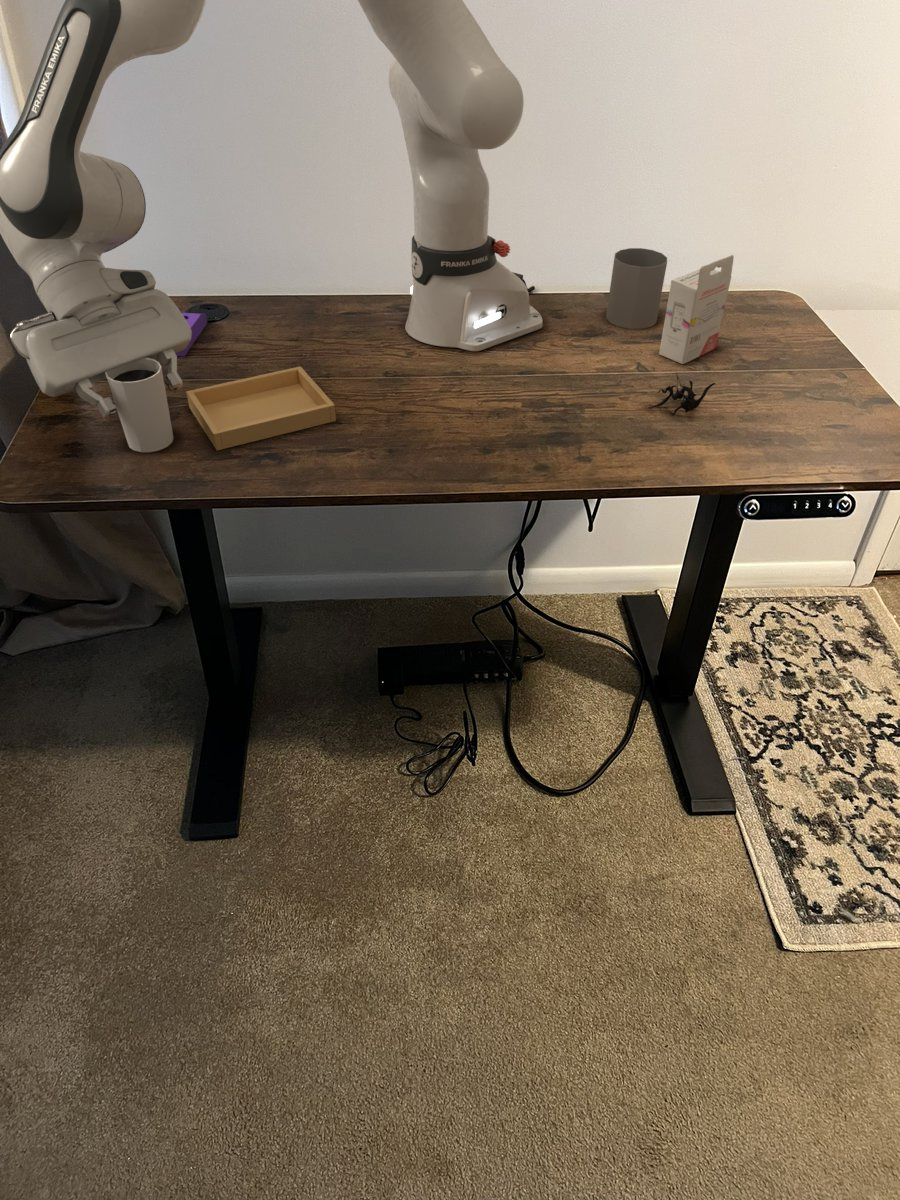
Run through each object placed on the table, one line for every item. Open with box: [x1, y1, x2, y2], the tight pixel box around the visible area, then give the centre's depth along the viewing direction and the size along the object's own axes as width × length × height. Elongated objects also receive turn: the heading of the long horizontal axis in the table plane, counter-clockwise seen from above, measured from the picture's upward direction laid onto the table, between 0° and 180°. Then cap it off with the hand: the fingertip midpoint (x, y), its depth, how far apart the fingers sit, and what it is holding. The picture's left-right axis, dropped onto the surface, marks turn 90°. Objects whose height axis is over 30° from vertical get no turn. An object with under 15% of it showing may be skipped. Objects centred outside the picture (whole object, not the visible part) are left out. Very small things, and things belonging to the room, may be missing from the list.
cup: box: [605, 247, 668, 330], centre depth 140 cm, size 8×8×10 cm
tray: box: [185, 366, 337, 451], centre depth 117 cm, size 17×13×2 cm
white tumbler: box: [105, 358, 175, 453], centre depth 109 cm, size 7×7×10 cm
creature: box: [648, 372, 717, 416], centre depth 119 cm, size 8×5×8 cm
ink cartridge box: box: [658, 254, 735, 365], centre depth 129 cm, size 9×5×15 cm, turn 131°
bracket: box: [175, 312, 208, 357], centre depth 133 cm, size 12×7×7 cm, turn 175°
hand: (144, 400), depth 108 cm, fingers open, 8 cm apart
